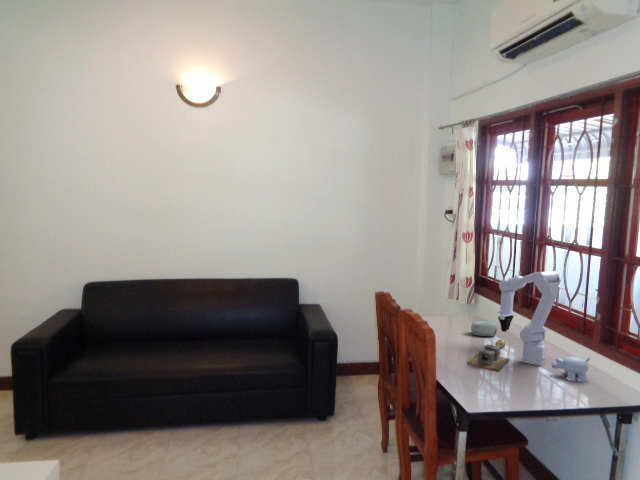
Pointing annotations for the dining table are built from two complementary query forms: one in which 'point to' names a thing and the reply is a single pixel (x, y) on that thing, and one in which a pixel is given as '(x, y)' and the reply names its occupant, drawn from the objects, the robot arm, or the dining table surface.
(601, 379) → the dining table surface
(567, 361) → the hippopotamus toy
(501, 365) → the bearing frame
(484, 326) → the pale green pouf
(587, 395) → the dining table surface
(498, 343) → the shaft
